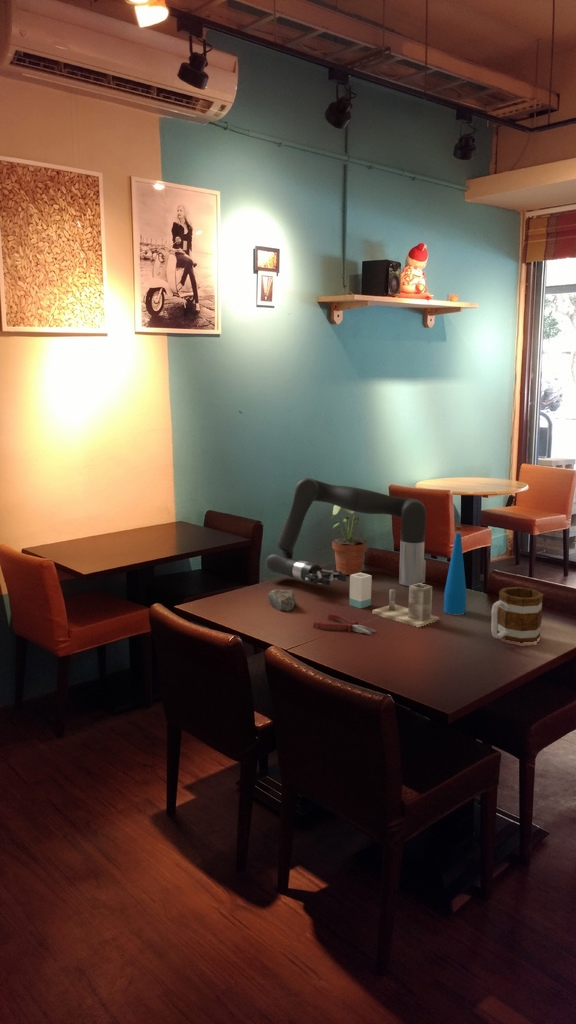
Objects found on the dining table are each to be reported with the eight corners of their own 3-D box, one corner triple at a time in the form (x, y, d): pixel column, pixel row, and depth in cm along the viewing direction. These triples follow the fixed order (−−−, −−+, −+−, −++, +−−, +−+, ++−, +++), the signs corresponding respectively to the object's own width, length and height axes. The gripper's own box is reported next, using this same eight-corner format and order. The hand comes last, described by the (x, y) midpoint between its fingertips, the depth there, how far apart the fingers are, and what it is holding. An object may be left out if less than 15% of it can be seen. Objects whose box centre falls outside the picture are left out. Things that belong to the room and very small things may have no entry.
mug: (514, 629, 255) (517, 584, 252) (549, 640, 244) (553, 594, 242) (473, 640, 244) (476, 594, 241) (508, 653, 233) (511, 605, 230)
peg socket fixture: (372, 613, 270) (373, 579, 268) (393, 607, 277) (394, 573, 275) (418, 627, 255) (420, 591, 253) (439, 620, 263) (440, 585, 261)
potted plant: (340, 565, 334) (342, 484, 328) (372, 571, 325) (374, 488, 319) (321, 573, 322) (322, 489, 315) (353, 579, 313) (355, 493, 306)
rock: (265, 601, 282) (265, 584, 281) (287, 599, 286) (287, 582, 285) (281, 612, 271) (281, 594, 269) (303, 609, 274) (304, 591, 273)
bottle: (454, 616, 267) (459, 529, 262) (439, 610, 273) (443, 525, 268) (469, 613, 271) (474, 527, 266) (454, 607, 277) (459, 523, 272)
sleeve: (349, 604, 279) (350, 575, 277) (359, 601, 283) (360, 572, 281) (360, 608, 276) (361, 578, 274) (370, 605, 279) (371, 575, 277)
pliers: (365, 640, 244) (365, 632, 244) (311, 628, 255) (311, 620, 255) (382, 631, 254) (383, 623, 253) (329, 619, 265) (330, 612, 264)
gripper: (293, 565, 292) (324, 574, 281) (320, 559, 302) (351, 567, 290) (293, 584, 294) (323, 594, 282) (320, 578, 303) (350, 587, 292)
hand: (337, 580), depth 286 cm, fingers open, 8 cm apart
